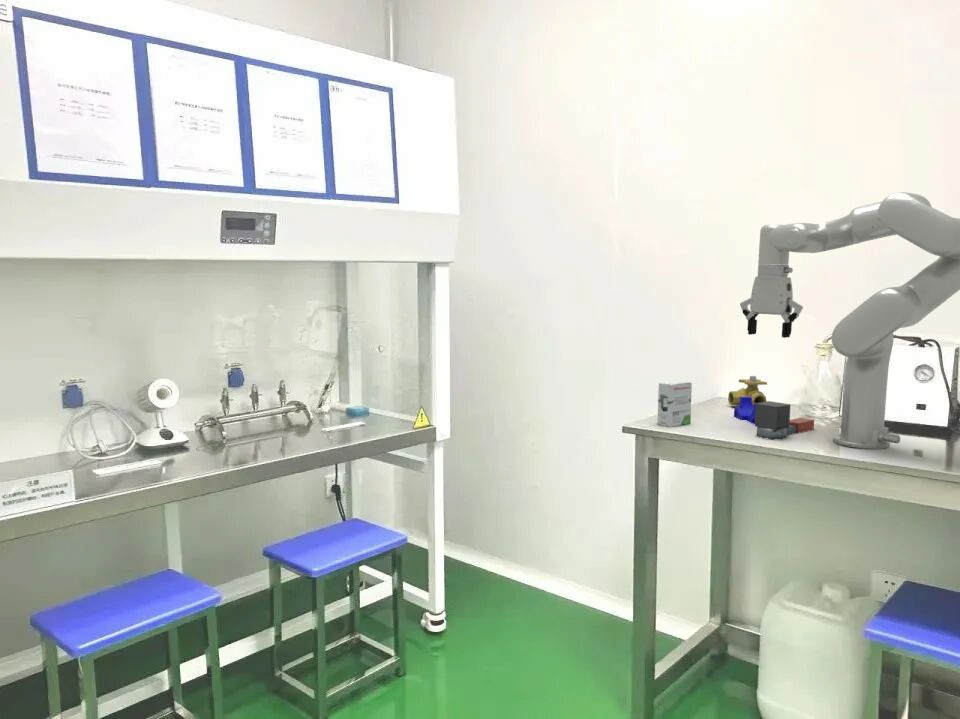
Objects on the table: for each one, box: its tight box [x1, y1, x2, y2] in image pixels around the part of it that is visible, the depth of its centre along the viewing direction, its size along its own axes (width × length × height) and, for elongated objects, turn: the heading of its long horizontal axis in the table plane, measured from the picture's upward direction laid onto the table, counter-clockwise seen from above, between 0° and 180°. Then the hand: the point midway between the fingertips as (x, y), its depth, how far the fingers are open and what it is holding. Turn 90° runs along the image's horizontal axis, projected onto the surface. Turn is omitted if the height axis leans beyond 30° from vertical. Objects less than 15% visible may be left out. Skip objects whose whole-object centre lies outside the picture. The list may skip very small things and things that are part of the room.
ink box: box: [657, 380, 693, 428], centre depth 212 cm, size 9×5×12 cm, turn 124°
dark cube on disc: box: [754, 400, 791, 430], centre depth 197 cm, size 6×6×6 cm
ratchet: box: [756, 417, 815, 440], centre depth 202 cm, size 21×7×6 cm, turn 128°
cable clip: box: [733, 397, 756, 425], centre depth 218 cm, size 12×4×6 cm, turn 2°
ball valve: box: [727, 375, 768, 407], centre depth 239 cm, size 13×10×10 cm
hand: (768, 335), depth 206 cm, fingers open, 9 cm apart
